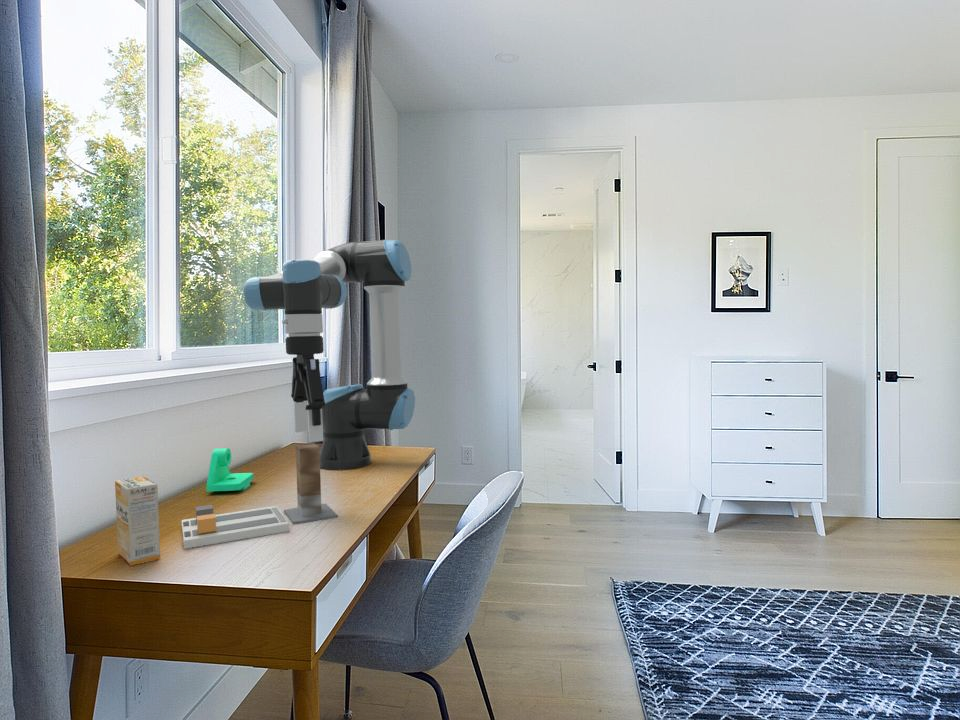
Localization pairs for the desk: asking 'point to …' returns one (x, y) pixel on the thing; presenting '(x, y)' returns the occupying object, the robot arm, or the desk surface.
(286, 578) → the desk surface
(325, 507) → the mat
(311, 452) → the wooden beam block
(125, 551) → the supplement box
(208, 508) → the tab
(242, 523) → the switch board
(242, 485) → the camera mount
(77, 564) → the desk surface
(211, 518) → the tab
